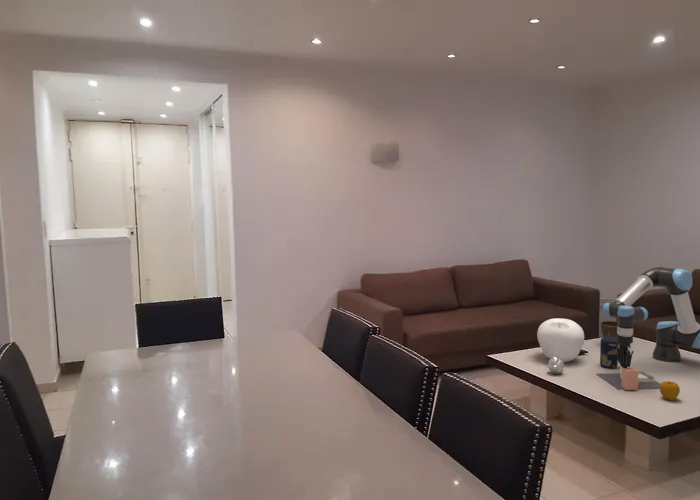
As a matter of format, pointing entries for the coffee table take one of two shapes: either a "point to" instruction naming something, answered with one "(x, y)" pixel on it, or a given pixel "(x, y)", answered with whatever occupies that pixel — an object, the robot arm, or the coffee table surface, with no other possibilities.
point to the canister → (608, 352)
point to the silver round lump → (556, 365)
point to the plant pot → (609, 329)
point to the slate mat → (616, 381)
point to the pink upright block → (629, 379)
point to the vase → (560, 338)
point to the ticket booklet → (645, 377)
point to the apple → (669, 390)
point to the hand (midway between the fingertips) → (623, 378)
